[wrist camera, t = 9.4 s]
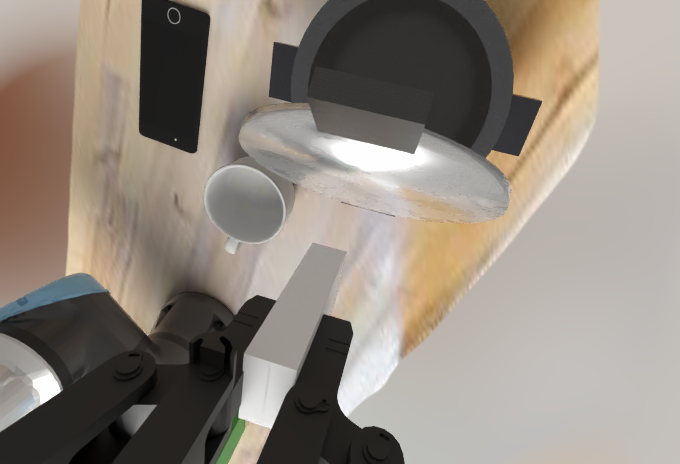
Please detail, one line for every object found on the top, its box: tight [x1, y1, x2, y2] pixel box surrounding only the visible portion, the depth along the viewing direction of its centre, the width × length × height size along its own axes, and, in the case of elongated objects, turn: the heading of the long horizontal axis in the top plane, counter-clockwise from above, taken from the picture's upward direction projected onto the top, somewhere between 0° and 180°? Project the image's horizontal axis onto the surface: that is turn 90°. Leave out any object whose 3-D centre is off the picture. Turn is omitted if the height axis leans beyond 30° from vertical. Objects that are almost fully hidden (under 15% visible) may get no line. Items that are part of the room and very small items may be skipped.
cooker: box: [269, 0, 542, 217], centre depth 38 cm, size 25×22×11 cm
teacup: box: [203, 156, 295, 254], centre depth 50 cm, size 14×11×8 cm
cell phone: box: [139, 0, 210, 153], centre depth 48 cm, size 9×18×1 cm, turn 163°
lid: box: [238, 66, 511, 223], centre depth 26 cm, size 20×23×2 cm
